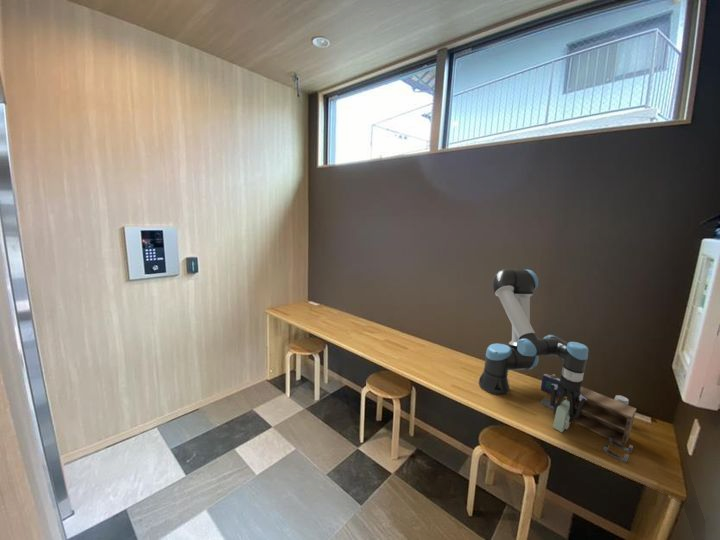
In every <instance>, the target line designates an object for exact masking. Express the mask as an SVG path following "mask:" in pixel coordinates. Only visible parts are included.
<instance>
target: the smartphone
mask: <svg viewBox="0 0 720 540" xmlns="http://www.w3.org/2000/svg"><path fill="white" fill-rule="evenodd" d="M550 401H551V398H550V399H549V398H547V397H543V399H541V401H540V402H539V404H540V405H541V406H544V407H546V408H547V409H550V410H553V411H554V407H553V406H551V405H550ZM556 403H557V401H555V404H556Z"/></svg>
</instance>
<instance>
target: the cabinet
mask: <svg viewBox="0 0 720 540" xmlns="http://www.w3.org/2000/svg"><path fill="white" fill-rule="evenodd" d="M580 392H581V395H582V396H583V397H587V400H586V401H585V402H584V405H583V408H582V411H581V414H580V416H579V417H578V418H576V417H574V420H573V422H572V423H575V424H577V425H579V426H580V427H583V428H584V429H585V428H586V429H587V430H589V431H591V432H593V433H595V434H597V435H599V436H601V437H603V438H606V439H608V440H609V439H610V437H611V436H614V440H613V441H614V442H616V443H618V444H620V445H622V446H624V447H626V444H627V442H628V440H629V439H630V436H631V431H632V427H633V424H634V421H635V416H636V412H637V408H636V407H633V406H631V405H629V404H628V405H626V404H624V403H621V402H619V401H616V400H614V399H615V398H612V397H609V396H606V395H604V394H602V393H598V392H597V391H594V390H592V389H589V388H586V387H584V386H582V385H581V389H580ZM566 400H567V401H569V398H567V397H566ZM579 402H580V400H579V397H577V398H575V413H576V411H577V408H578V405H579Z"/></svg>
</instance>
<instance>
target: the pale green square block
mask: <svg viewBox="0 0 720 540" xmlns="http://www.w3.org/2000/svg"><path fill="white" fill-rule="evenodd" d="M569 414H570V401H567V399H563V400H562V402H561V404H560V405H559V406H558V407H557V410H556V415H554V420H553V424H552V428H553V429H555V430H557V431H558V432H560V433H563V432H564V431H565V430H566V429H565V426H566V423H568V421H567V416H568V415H569Z"/></svg>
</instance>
